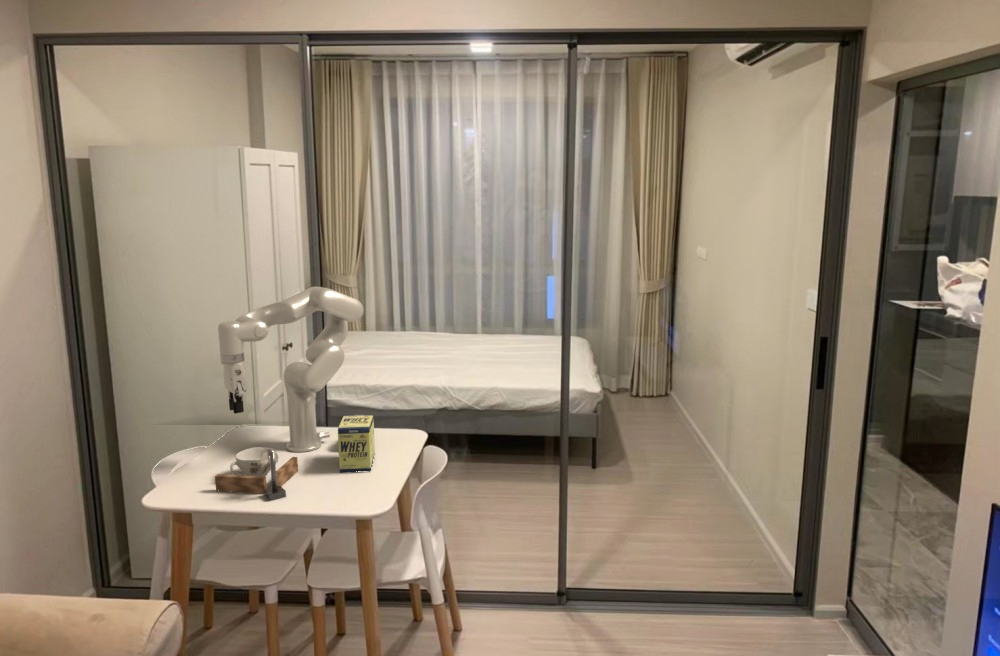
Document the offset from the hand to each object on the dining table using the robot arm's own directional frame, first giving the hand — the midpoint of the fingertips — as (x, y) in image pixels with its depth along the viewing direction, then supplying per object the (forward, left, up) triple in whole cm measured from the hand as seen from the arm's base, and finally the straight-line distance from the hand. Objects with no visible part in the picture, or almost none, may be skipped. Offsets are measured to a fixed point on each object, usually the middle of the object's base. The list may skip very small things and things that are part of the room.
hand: (236, 410), depth 241 cm
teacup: (0, +14, -19) cm, 24 cm away
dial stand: (0, +33, -19) cm, 38 cm away
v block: (0, +23, -19) cm, 30 cm away
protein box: (-32, +25, -20) cm, 45 cm away
